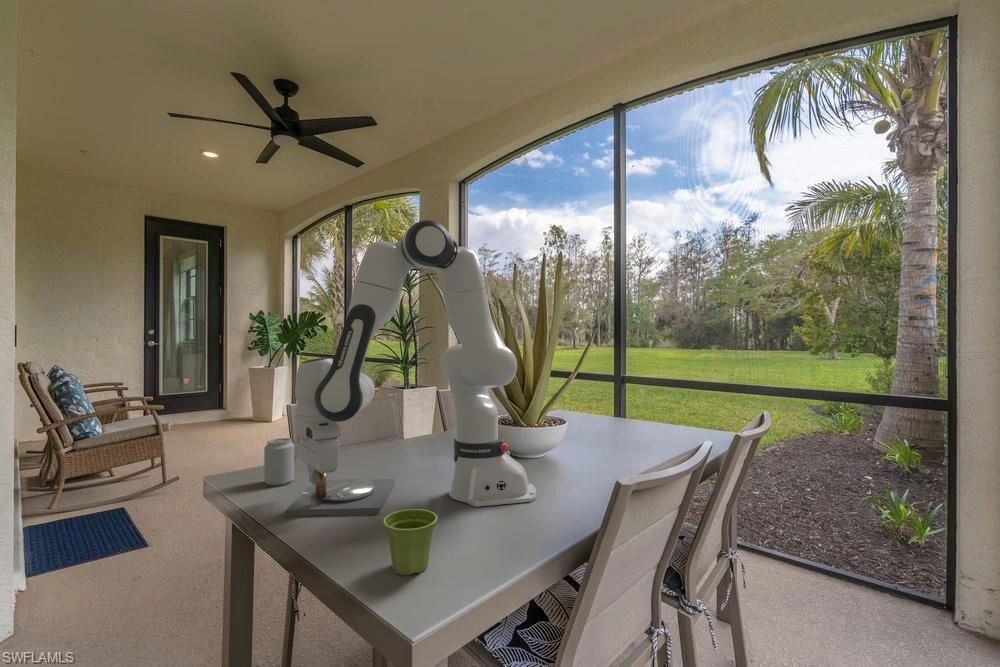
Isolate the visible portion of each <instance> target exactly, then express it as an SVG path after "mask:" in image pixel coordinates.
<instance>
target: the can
mask: <svg viewBox="0 0 1000 667" xmlns="http://www.w3.org/2000/svg"><path fill="white" fill-rule="evenodd" d="M263 448H264V449H263V450H264V457H263V458H264V459H263V460H264V462H263V463H264V465H263V468H264V469H263V473H264V475H263V476H264V478H263V479H264V483H265V484H266V485H267V486H269V487H281V486H280V485H282V486H285V484H286V485H288V484H287V483H289V482H290V483H291V482H293V481H294V479H295V454H294V443H293V442H292V439H291V438H289V437H281V438H280V437H279V438H273V439H269V440H267V441H266V445H264V446H263ZM290 483H289V484H290Z"/></svg>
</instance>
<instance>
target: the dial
mask: <svg viewBox="0 0 1000 667" xmlns="http://www.w3.org/2000/svg"><path fill="white" fill-rule="evenodd" d="M326 480H327V473H324V474H322V473H320V472H319V471H317V472H316V484H315V498H316V499H319V500H322V501H327V502H345V501H352V500H357V499H361V498H364V497H366V496H368V495H370V494H372V493H373V492H374V483H373V482H372V481H370V480H371V479H365V478H357V477H354V478H343V479H342V478H341V479H335V481H330V482H327V483H326Z"/></svg>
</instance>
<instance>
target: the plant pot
mask: <svg viewBox="0 0 1000 667" xmlns="http://www.w3.org/2000/svg"><path fill="white" fill-rule="evenodd" d="M437 522H438V516H437V514H436V513H435V512H433V511H432V510H427V509H422V508H410V509H402V510H397V511H393V512H391V513H389V514H387V515H386V516H385V517H384V518H383V525H384V527H385V529H386V533H387V534H388V540H389V548H390V549H389V550H390V556H391V562H392V564H391V565H392V569H393V571H394V572H395V573H396V574H399V575H403V576H411V575H412V574H414V573H418V574H420V573H422V572H424V571H425V570H426V569H427V568H428V566H429V558H430V552H431V547H432V546H431V545H432V539H433V532H434V530H435V525H436V523H437Z"/></svg>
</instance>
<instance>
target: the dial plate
mask: <svg viewBox="0 0 1000 667" xmlns="http://www.w3.org/2000/svg"><path fill="white" fill-rule="evenodd" d="M335 480H336V479H335ZM335 480H334V479H331V480H330V479H329V480H327V479H326V483H327V482H330V481H335ZM369 480H370V481H372V482H373V483H374V492H373V493H372V494H370V495H368V496H366V497H364V498H361V499H357V500H352V501H345V502H327V501H322V500H319V499H316V498H315V484H311V485H310V486H309V488H307V489H306V490H305V491H304V492H302V493H301V495H300V496H299V497H298V498H297V499H296V500H295V501H293V503H291V504H290V505H289V506H288V507H287V508H286V509H285V517H321V515H330V516H361V515H362V516H364V515H365V516H367V515H368V516H369V515H370V514H371V515H372V514H373V516H374V514H376V515H380V513H381V512H382V510H383V508H384V506H385V505H386V503H387V501H388V499H389V497H390V495H391V493H392V491H393V489H394V487H395V486H396V479H395V478H394V479H393V478H392V479H382V478H381V479H369ZM315 515H316V516H315ZM318 515H320V516H318ZM371 515H370V516H371Z"/></svg>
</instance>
